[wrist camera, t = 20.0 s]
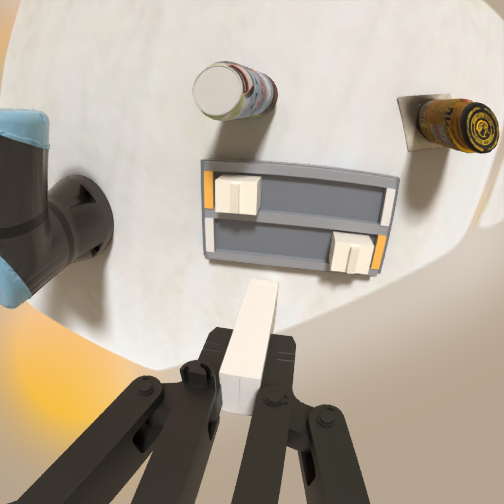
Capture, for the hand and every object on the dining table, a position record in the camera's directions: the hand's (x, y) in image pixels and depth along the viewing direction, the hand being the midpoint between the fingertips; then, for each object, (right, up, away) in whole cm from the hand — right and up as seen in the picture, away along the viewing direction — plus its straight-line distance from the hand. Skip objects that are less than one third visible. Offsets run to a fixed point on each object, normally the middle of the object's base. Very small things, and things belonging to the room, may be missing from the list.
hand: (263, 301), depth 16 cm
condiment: (+23, +20, +14) cm, 33 cm away
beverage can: (-1, +22, +17) cm, 28 cm away
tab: (+12, +3, +22) cm, 25 cm away
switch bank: (+5, +8, +23) cm, 25 cm away
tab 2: (-2, +11, +21) cm, 24 cm away
